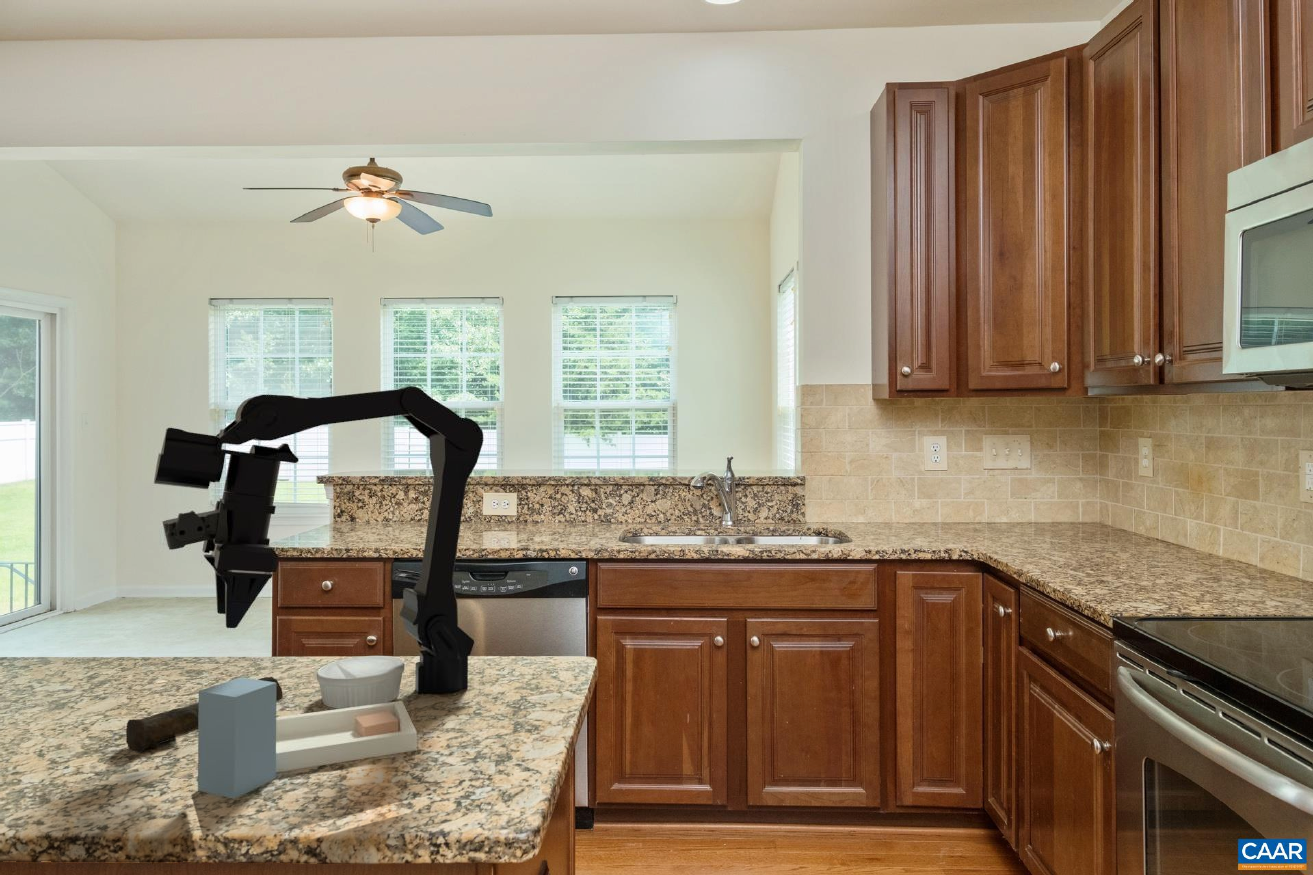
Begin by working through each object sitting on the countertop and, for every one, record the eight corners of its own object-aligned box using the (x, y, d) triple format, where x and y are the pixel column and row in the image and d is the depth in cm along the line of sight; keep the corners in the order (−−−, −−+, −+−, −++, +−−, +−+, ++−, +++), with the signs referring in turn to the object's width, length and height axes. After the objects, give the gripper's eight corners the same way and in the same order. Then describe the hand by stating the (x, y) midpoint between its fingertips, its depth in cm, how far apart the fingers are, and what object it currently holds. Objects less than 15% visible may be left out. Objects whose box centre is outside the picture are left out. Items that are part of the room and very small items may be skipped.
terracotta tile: (388, 722, 98) (388, 710, 98) (398, 732, 95) (398, 720, 95) (354, 729, 96) (355, 717, 96) (364, 739, 93) (364, 726, 93)
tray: (401, 724, 101) (401, 700, 101) (416, 758, 90) (416, 732, 90) (261, 744, 94) (262, 719, 94) (259, 784, 83) (259, 755, 83)
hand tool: (139, 757, 90) (140, 717, 90) (123, 750, 93) (123, 710, 93) (293, 711, 106) (293, 676, 106) (276, 705, 108) (276, 672, 109)
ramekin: (298, 712, 105) (298, 673, 105) (356, 688, 116) (356, 652, 116) (366, 722, 101) (366, 681, 101) (420, 696, 112) (420, 659, 112)
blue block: (240, 780, 84) (241, 677, 84) (275, 788, 82) (276, 682, 82) (197, 800, 79) (198, 690, 79) (234, 808, 78) (235, 697, 78)
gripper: (169, 482, 102) (146, 604, 100) (180, 490, 86) (152, 634, 85) (264, 493, 108) (243, 608, 106) (289, 502, 92) (265, 636, 91)
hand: (226, 620), depth 97 cm, fingers open, 9 cm apart
